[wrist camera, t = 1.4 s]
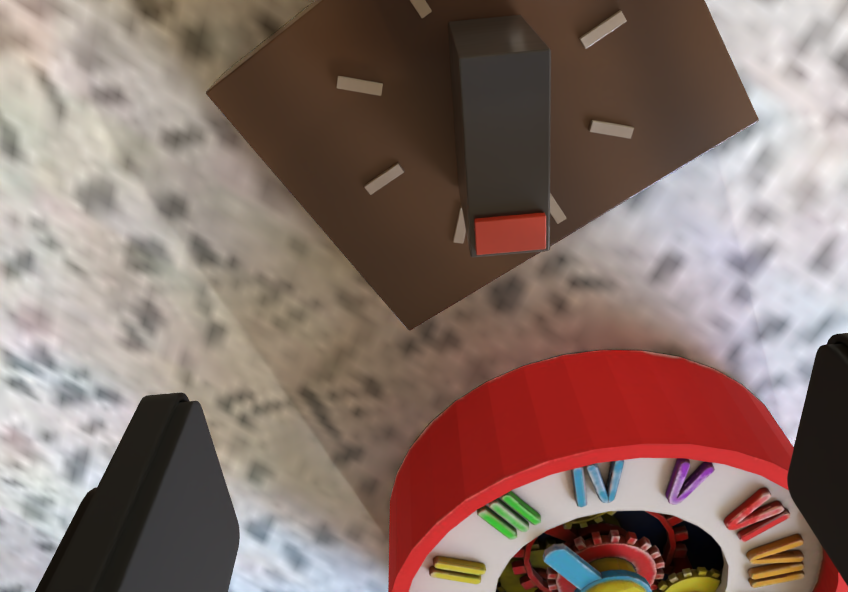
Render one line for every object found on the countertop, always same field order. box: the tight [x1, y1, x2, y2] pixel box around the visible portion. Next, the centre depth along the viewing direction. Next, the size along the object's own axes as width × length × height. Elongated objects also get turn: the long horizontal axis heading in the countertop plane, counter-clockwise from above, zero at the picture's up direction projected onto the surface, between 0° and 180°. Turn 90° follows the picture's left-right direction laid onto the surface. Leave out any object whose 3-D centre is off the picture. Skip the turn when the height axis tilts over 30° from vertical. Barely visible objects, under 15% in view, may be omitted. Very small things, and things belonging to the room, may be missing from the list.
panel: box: [206, 0, 759, 330], centre depth 23 cm, size 14×11×3 cm
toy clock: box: [388, 350, 848, 592], centre depth 33 cm, size 20×6×20 cm
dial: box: [448, 15, 551, 257], centre depth 20 cm, size 5×2×5 cm, turn 5°
